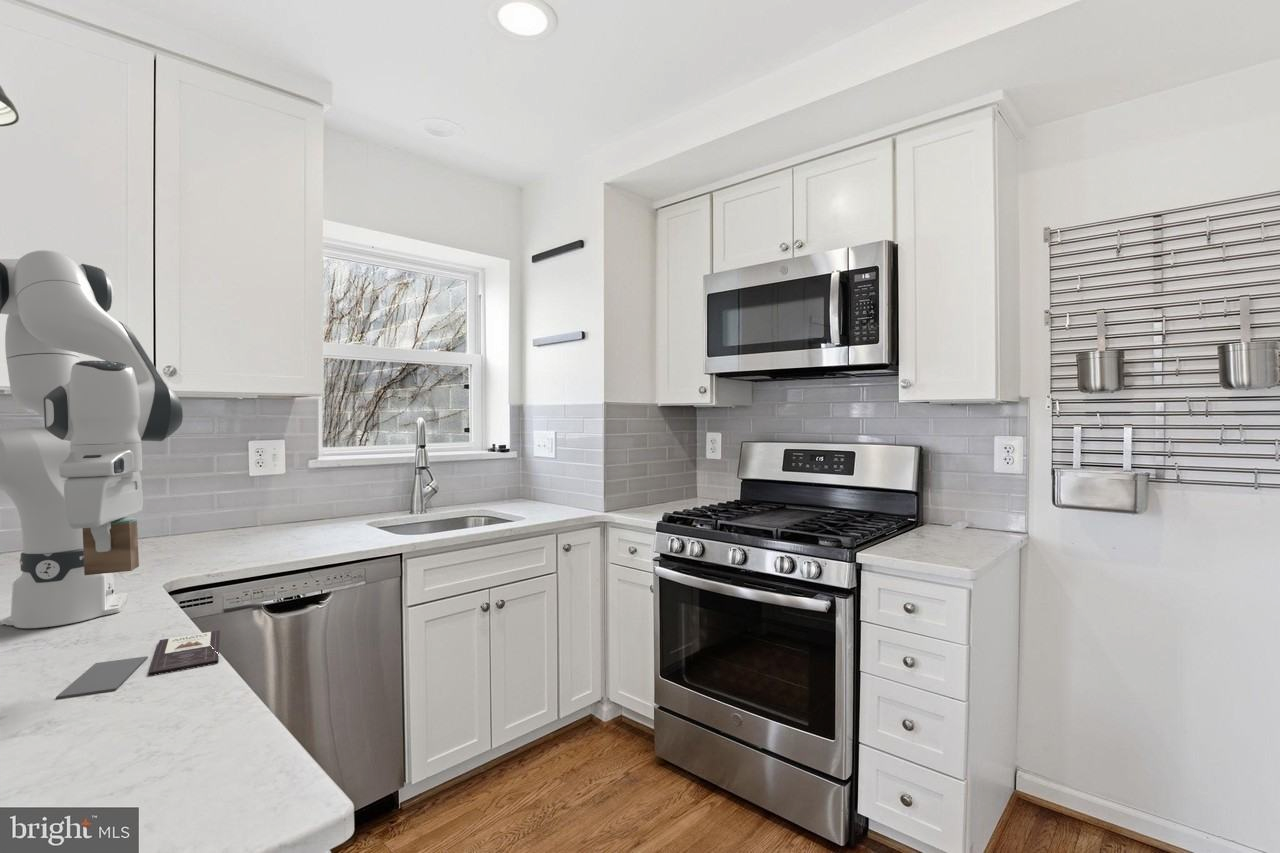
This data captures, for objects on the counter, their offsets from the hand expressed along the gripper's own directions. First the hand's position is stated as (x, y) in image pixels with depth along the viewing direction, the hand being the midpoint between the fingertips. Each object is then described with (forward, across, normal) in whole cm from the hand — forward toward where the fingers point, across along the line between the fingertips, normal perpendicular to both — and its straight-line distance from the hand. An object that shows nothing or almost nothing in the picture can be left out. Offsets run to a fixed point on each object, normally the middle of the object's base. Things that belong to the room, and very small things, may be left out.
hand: (110, 548), depth 104 cm
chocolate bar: (+20, -3, +9) cm, 22 cm away
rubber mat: (+19, +4, 0) cm, 20 cm away
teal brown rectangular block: (+4, 0, 0) cm, 4 cm away
